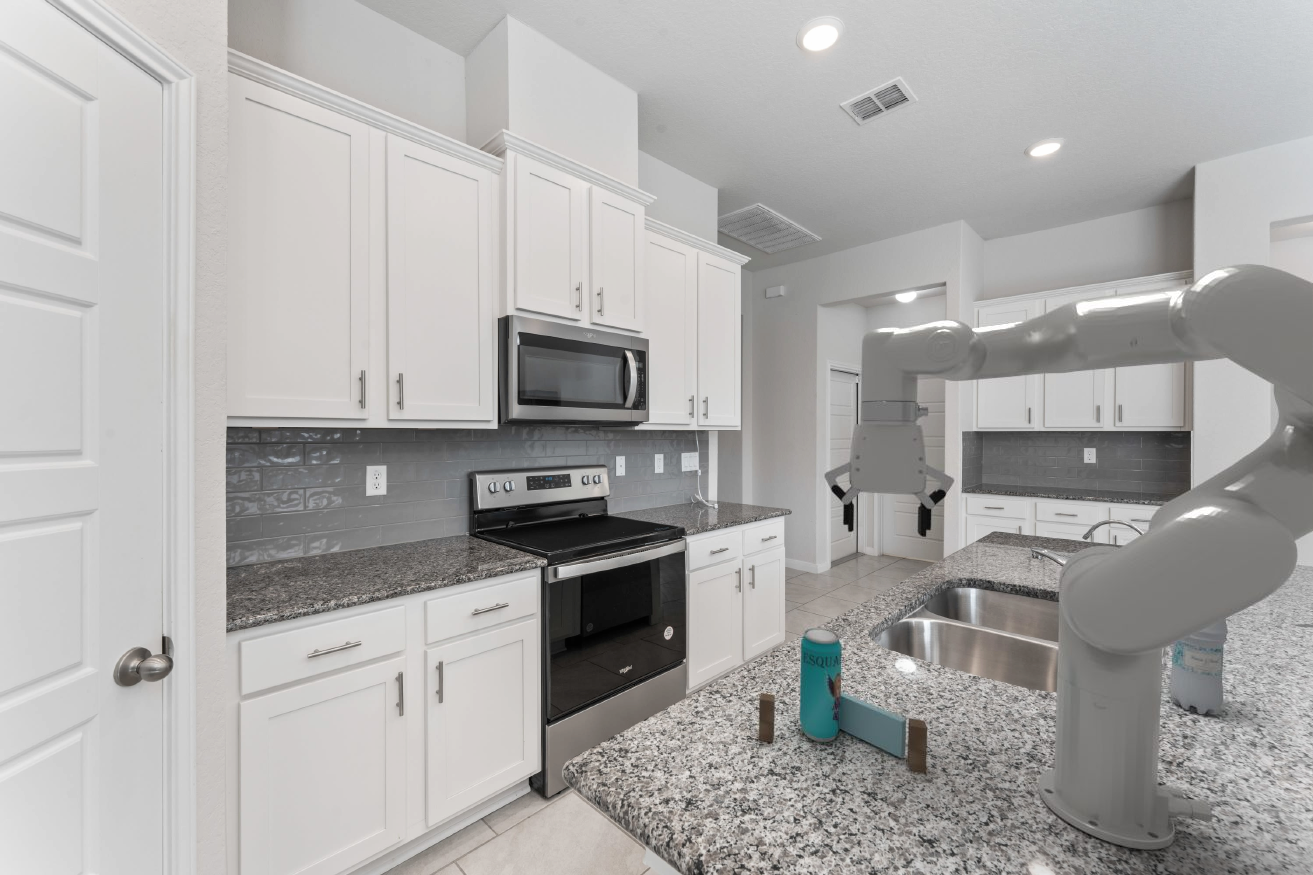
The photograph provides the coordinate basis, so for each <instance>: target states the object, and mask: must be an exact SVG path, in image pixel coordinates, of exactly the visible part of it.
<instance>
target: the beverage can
mask: <svg viewBox="0 0 1313 875" xmlns="http://www.w3.org/2000/svg"><path fill="white" fill-rule="evenodd" d="M802 635H803V637H802V639H801V641H800V679H799V680H800V682H799V684H800V685H799V686H800V687H799V688H800V690H799V696H800V697H799V722H800V726H801V727H802V731H803V733H804V735H805V736H806V737H807V738H809V739H810V740H812V741H814V742H818V743H829V742H833V741H834V740H835V738H836V737H837V734H838V733H839V731H840V707H841V692H842V653H843V652H842V650H843V649H842V647H843V646H842V644H841V642H840V634H839V633H837V631H835V630H831V629H828V628H824V627H809V628H806V629H804V631H803V633H802Z"/></svg>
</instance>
